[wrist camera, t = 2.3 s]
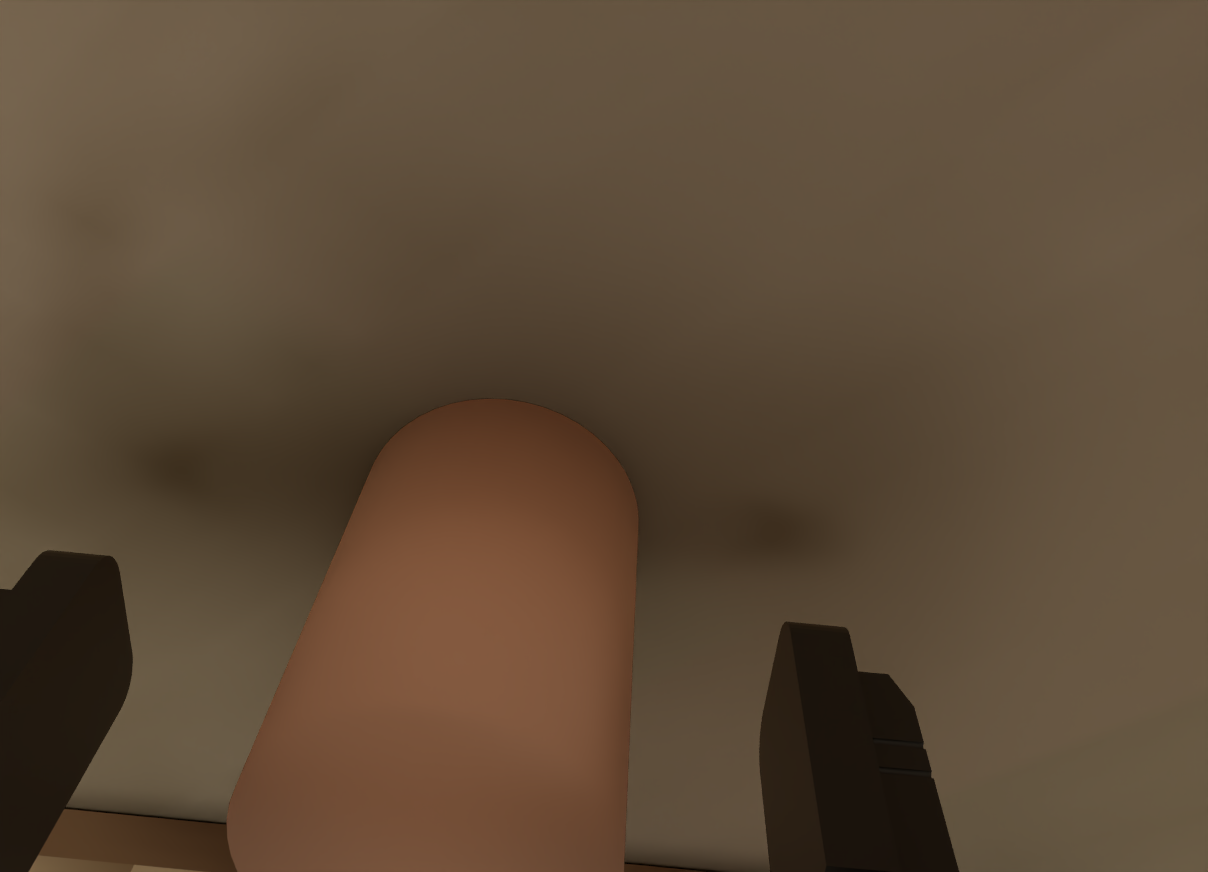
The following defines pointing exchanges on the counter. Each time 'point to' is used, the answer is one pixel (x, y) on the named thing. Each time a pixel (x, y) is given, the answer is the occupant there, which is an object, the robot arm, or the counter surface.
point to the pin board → (150, 846)
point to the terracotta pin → (459, 663)
